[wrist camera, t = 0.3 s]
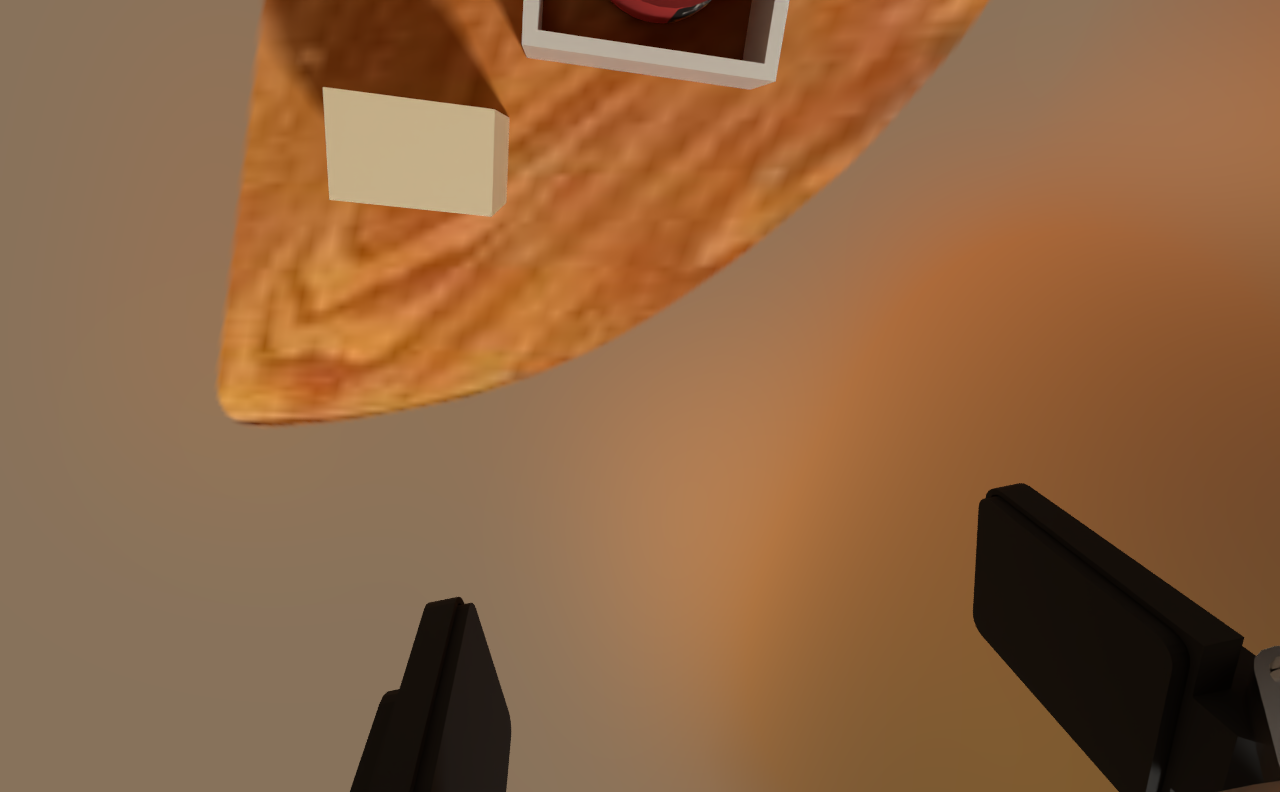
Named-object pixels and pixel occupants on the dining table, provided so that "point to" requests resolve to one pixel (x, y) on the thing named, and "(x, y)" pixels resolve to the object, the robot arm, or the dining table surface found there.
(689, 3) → the canned food
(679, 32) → the dining table surface
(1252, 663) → the robot arm
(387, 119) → the plain beige cuboid
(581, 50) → the box
